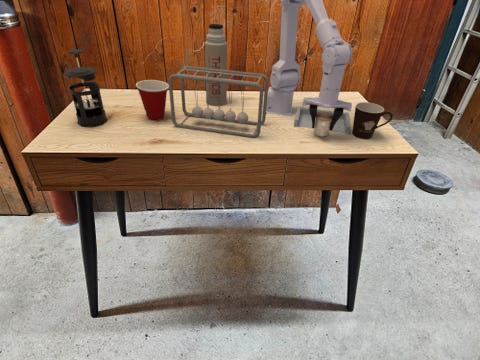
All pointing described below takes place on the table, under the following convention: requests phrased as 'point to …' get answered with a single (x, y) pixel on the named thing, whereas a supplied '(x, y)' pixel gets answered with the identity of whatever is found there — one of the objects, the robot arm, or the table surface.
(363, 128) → the coffee mug
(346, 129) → the caddy
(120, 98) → the table surface
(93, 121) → the french press
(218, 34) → the thermos bottle
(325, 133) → the cylinder with tab
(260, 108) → the newton's cradle
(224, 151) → the table surface
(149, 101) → the plastic cup
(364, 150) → the table surface
